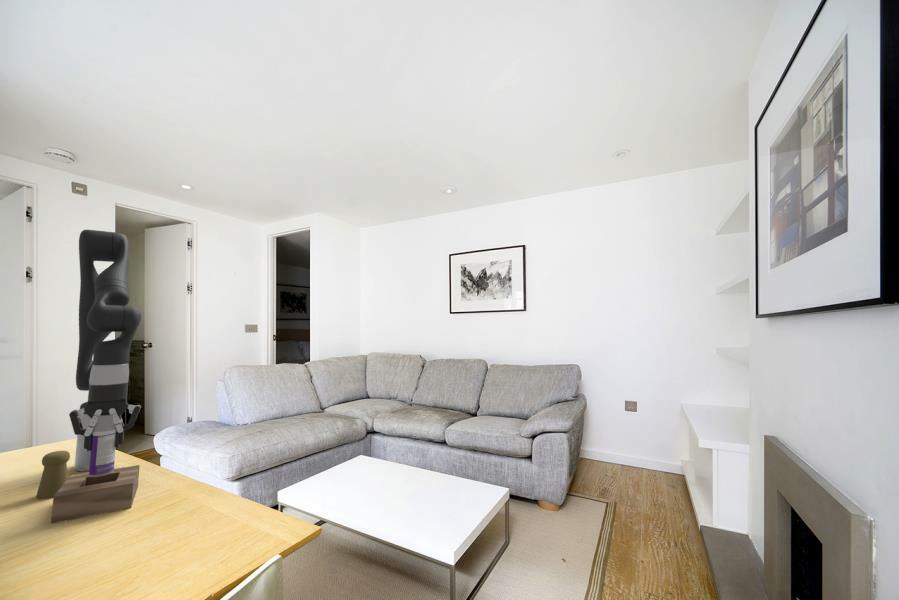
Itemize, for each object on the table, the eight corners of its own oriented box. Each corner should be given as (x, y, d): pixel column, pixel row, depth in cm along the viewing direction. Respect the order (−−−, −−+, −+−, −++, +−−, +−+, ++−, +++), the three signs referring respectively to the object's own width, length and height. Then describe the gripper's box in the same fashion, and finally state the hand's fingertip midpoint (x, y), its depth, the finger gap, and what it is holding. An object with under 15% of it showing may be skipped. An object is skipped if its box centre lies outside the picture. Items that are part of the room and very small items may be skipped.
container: (88, 473, 94) (93, 413, 95) (112, 468, 98) (117, 410, 99) (89, 478, 91) (94, 417, 92) (114, 473, 94) (119, 414, 96)
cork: (32, 496, 97) (36, 453, 98) (64, 487, 102) (67, 446, 103) (40, 501, 94) (44, 457, 95) (72, 492, 99) (76, 450, 100)
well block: (67, 499, 96) (69, 475, 96) (137, 486, 103) (139, 465, 104) (50, 523, 84) (53, 496, 84) (131, 507, 92) (133, 482, 92)
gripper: (146, 377, 103) (141, 440, 102) (74, 381, 95) (68, 449, 94) (143, 381, 97) (137, 447, 96) (66, 385, 89) (59, 458, 88)
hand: (103, 448), depth 95 cm, fingers closed on container, 4 cm apart
